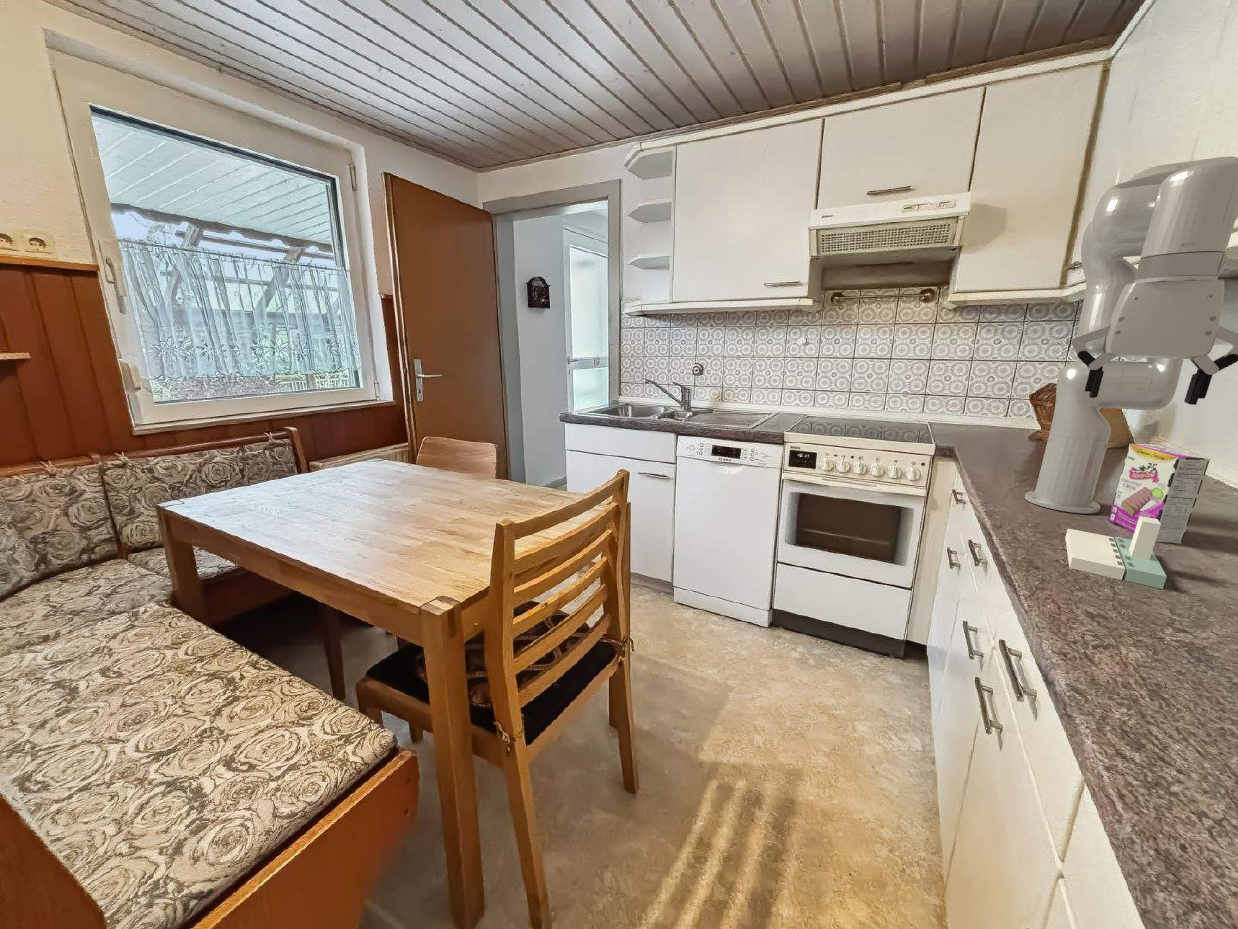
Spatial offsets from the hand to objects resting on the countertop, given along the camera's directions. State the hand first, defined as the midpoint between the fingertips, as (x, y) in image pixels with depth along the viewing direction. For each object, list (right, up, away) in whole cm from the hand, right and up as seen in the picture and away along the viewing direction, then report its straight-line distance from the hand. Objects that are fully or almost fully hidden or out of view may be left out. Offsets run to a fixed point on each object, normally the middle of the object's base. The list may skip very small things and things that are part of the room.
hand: (1139, 400), depth 69 cm
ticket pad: (+6, -25, +14) cm, 29 cm away
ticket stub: (+10, -26, +10) cm, 30 cm away
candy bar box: (+27, -22, +25) cm, 43 cm away
